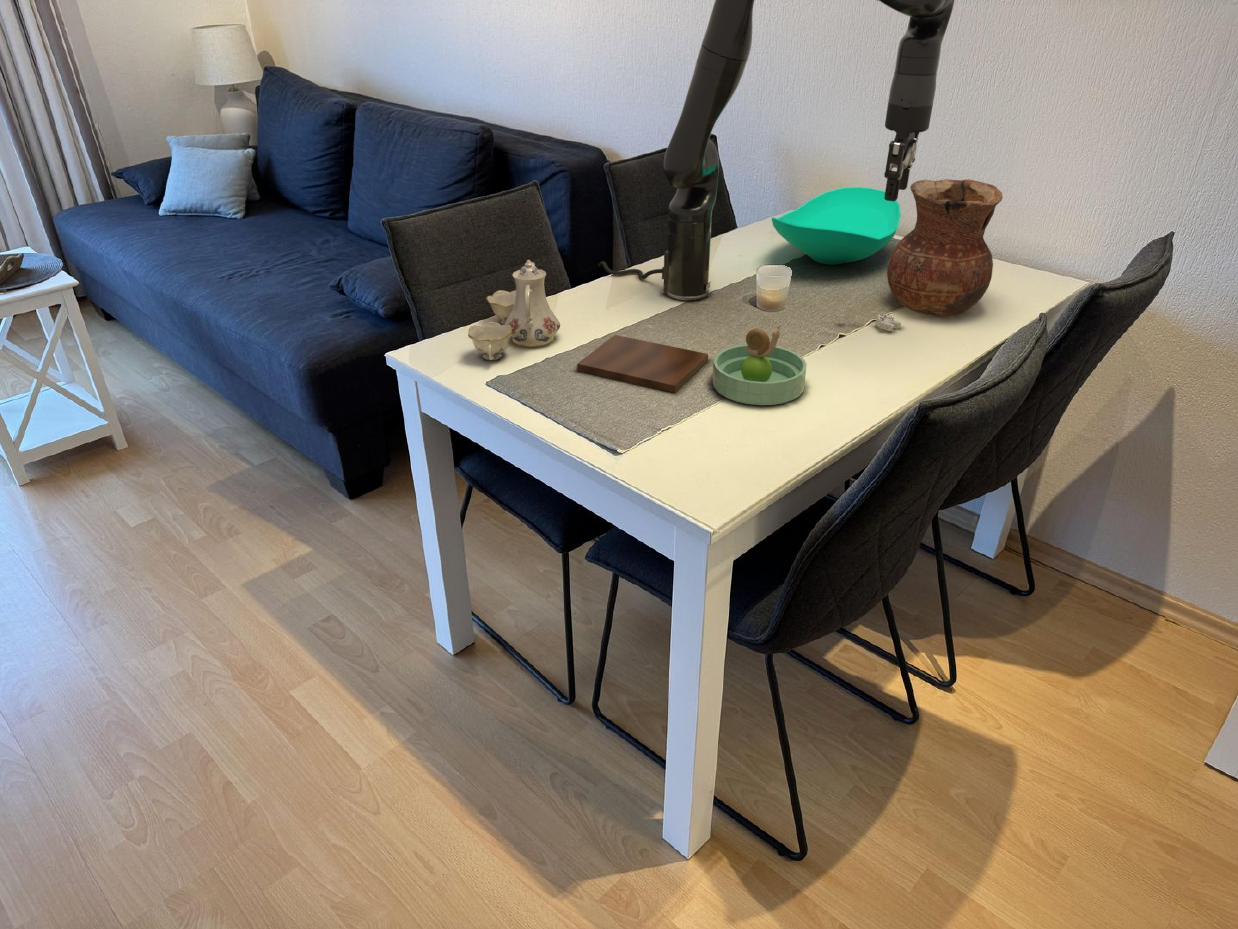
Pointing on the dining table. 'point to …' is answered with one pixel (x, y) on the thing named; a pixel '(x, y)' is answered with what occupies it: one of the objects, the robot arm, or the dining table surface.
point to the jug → (945, 248)
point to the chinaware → (517, 316)
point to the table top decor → (841, 225)
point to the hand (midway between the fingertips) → (895, 194)
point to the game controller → (886, 322)
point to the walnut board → (643, 363)
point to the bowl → (775, 390)
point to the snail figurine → (759, 355)
